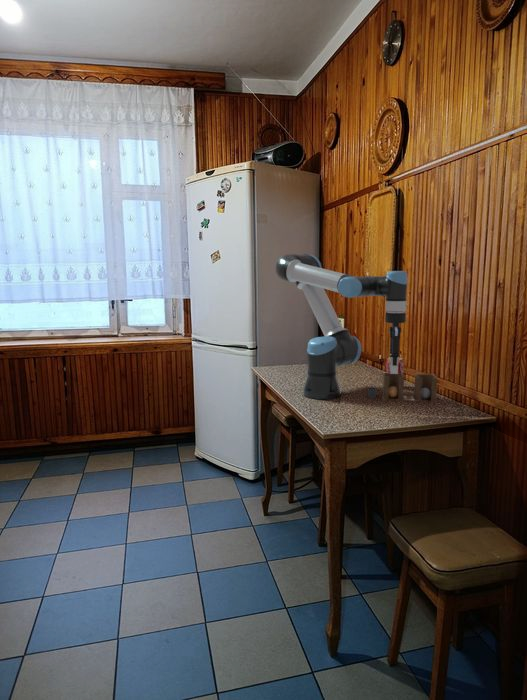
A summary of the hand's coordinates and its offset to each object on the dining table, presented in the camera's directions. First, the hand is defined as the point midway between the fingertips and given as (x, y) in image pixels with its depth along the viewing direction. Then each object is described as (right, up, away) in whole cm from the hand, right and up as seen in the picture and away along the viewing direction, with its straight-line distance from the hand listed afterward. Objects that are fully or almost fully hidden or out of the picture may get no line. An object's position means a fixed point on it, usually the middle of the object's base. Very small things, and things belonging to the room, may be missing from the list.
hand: (393, 372), depth 181 cm
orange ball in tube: (0, -10, +2) cm, 10 cm away
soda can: (+6, -8, +21) cm, 23 cm away
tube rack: (+6, -11, +1) cm, 13 cm away
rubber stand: (-8, -11, +3) cm, 14 cm away
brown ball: (0, +3, 0) cm, 3 cm away
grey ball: (+12, -10, -1) cm, 16 cm away
